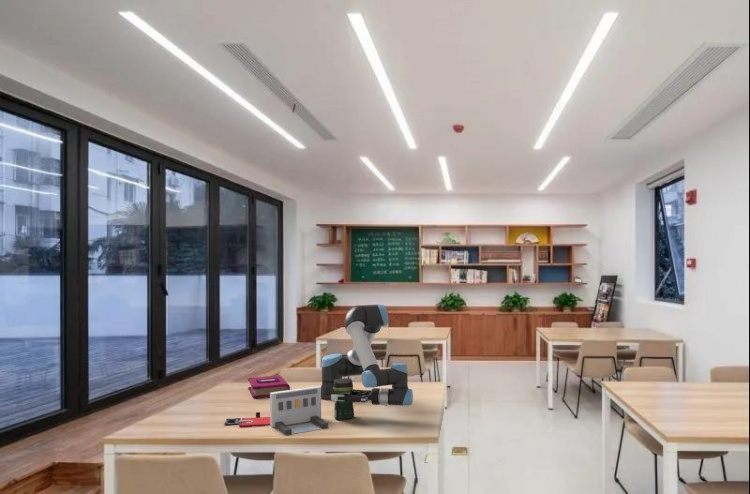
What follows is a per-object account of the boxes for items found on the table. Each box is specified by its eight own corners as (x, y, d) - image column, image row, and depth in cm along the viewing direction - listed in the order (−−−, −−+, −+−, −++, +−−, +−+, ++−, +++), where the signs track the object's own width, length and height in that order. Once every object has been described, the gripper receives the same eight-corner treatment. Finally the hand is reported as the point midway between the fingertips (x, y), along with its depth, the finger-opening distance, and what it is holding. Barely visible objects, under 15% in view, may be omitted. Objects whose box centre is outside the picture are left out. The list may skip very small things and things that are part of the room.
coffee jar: (352, 414, 242) (351, 376, 243) (355, 419, 234) (354, 379, 235) (333, 416, 240) (332, 377, 241) (334, 421, 232) (334, 381, 233)
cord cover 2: (310, 420, 233) (310, 416, 233) (316, 419, 235) (316, 415, 235) (321, 428, 221) (321, 424, 221) (327, 427, 222) (327, 423, 222)
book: (282, 386, 313) (281, 373, 313) (290, 395, 286) (289, 382, 287) (247, 389, 305) (247, 376, 306) (253, 399, 279) (252, 386, 280)
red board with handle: (227, 419, 239) (222, 429, 224) (227, 413, 239) (222, 423, 225) (290, 416, 244) (289, 426, 229) (290, 410, 244) (289, 420, 229)
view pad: (286, 427, 224) (286, 426, 224) (311, 423, 230) (311, 422, 230) (294, 433, 214) (294, 433, 214) (319, 429, 220) (319, 428, 220)
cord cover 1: (275, 426, 225) (275, 422, 225) (281, 425, 227) (281, 421, 227) (284, 435, 213) (284, 430, 213) (291, 434, 214) (291, 429, 214)
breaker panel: (270, 425, 227) (269, 392, 228) (319, 417, 238) (318, 386, 239) (272, 427, 224) (272, 394, 225) (322, 419, 235) (321, 387, 236)
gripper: (375, 410, 223) (327, 409, 228) (384, 399, 244) (340, 397, 249) (375, 393, 224) (327, 392, 228) (384, 383, 245) (340, 382, 249)
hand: (334, 395), depth 239 cm, fingers closed on coffee jar, 8 cm apart
